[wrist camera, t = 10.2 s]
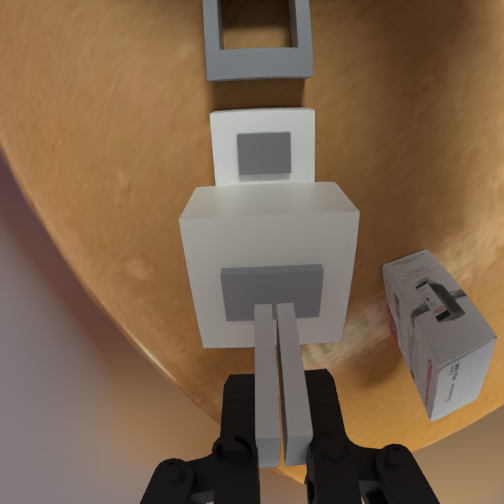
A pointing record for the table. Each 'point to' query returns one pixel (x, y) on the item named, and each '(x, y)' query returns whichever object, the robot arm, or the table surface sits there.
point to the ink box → (437, 332)
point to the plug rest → (258, 49)
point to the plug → (269, 258)
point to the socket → (263, 145)
